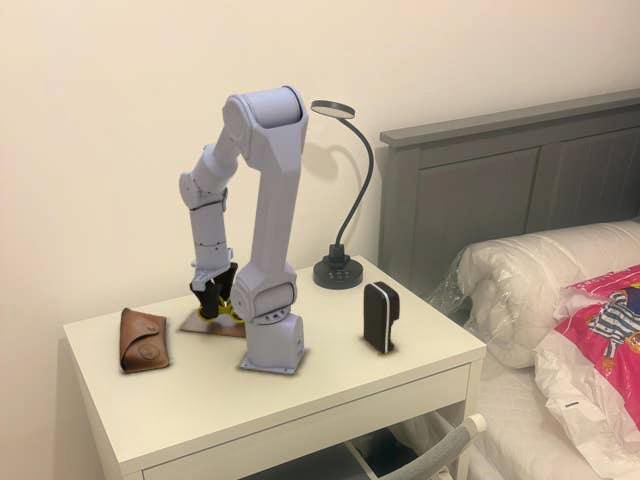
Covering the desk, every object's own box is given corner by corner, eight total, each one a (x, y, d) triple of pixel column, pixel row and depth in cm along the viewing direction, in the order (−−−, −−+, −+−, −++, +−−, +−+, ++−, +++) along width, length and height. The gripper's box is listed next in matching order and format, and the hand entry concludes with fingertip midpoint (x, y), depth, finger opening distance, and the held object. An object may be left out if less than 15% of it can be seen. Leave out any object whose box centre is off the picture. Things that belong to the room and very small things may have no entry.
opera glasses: (198, 326, 121) (194, 303, 118) (203, 312, 126) (200, 289, 123) (250, 327, 121) (248, 303, 118) (253, 312, 125) (251, 289, 122)
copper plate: (259, 317, 126) (259, 315, 126) (245, 337, 119) (245, 336, 119) (197, 310, 128) (197, 309, 128) (180, 330, 122) (180, 329, 122)
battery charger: (400, 350, 115) (403, 291, 108) (382, 356, 113) (384, 297, 107) (379, 332, 120) (381, 275, 113) (361, 338, 118) (362, 280, 112)
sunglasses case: (172, 364, 112) (146, 338, 108) (140, 387, 112) (113, 362, 109) (166, 315, 126) (143, 290, 122) (138, 335, 127) (114, 312, 123)
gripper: (204, 223, 121) (213, 289, 129) (171, 254, 109) (182, 325, 117) (240, 225, 119) (247, 292, 127) (210, 258, 108) (219, 329, 116)
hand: (218, 308), depth 122 cm, fingers closed on opera glasses, 6 cm apart
